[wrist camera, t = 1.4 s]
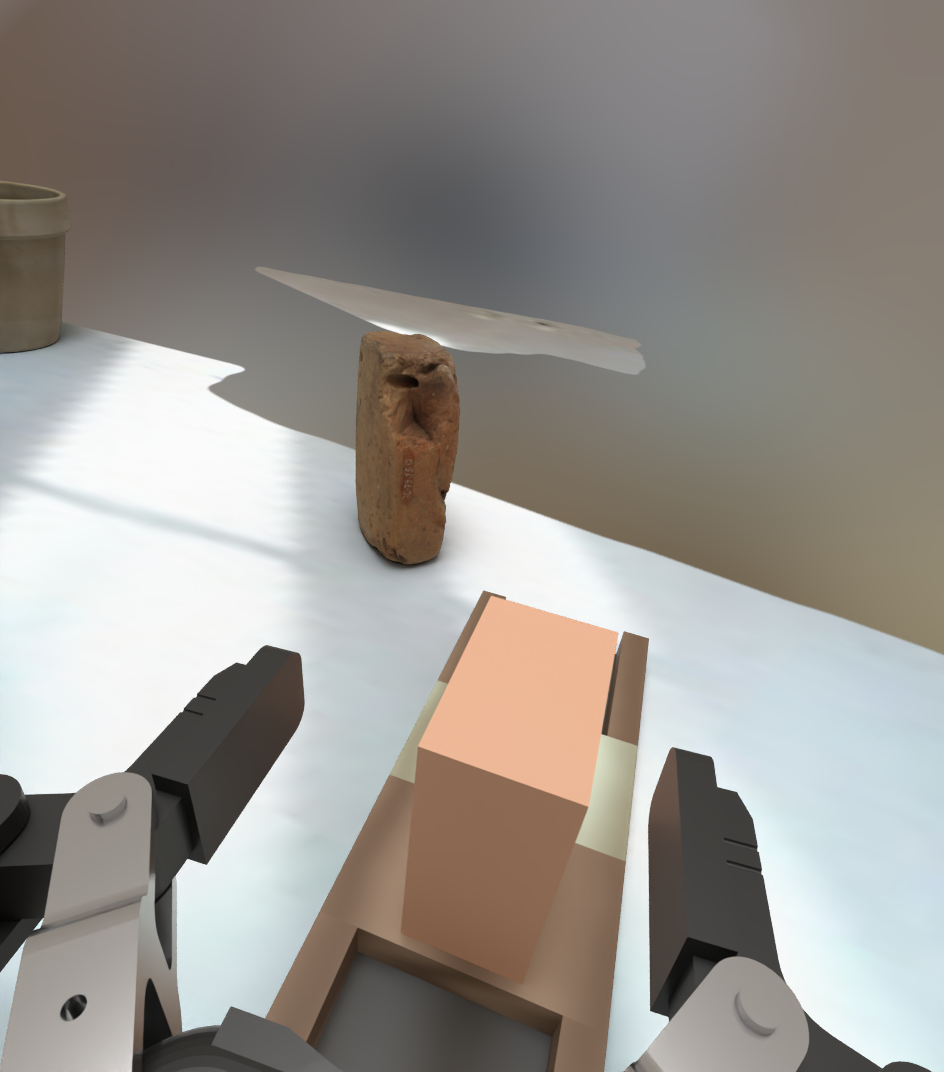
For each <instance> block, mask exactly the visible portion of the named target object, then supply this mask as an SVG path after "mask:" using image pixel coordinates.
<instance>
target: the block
mask: <svg viewBox="0 0 944 1072" xmlns="http://www.w3.org/2000/svg"><path fill="white" fill-rule="evenodd" d="M459 415H460V407H459V395H458V386H457V377H456V370H455V364H454V362H453V359H452V357H451V355H450V354H449V353H448V352H447V351H446V350H444V349H443V348H442V346H441V345H440V344H439V343H438V342H436V341H434V340H432V339H431V338H429V337H427V336H425V335H421V334H414V335H403V334H398V333H394V332H389V331H377V332H368V333H366V334H365V335H364V336H363V337H362V340H361V347H360V357H359V371H358V392H357V415H356V496H357V505H358V520H359V523H360V527H361V530H362V532H363V534H364V536H365V538H366V540H367V541H368V542H369V543H370V544H371V545H372V546H373V547H377V549H378V550H379V551H380V553H381V554H382V555H384V556H385V557H386V558H387V559H390V560H392V561H394V562H400V563H403V564H416V563H420V562H423V561H427V560H430V559H432V558H434V557H435V556H436V555H437V554H438V553H439V551H440V548H441V545H442V541H443V535H444V529H445V523H446V516H445V511H446V505H445V502H444V500H445V497H446V494H447V492H448V491H449V488H450V483H451V480H452V473H453V471H454V464H455V458H456V454H457V445H458V430H459Z"/></svg>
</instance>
